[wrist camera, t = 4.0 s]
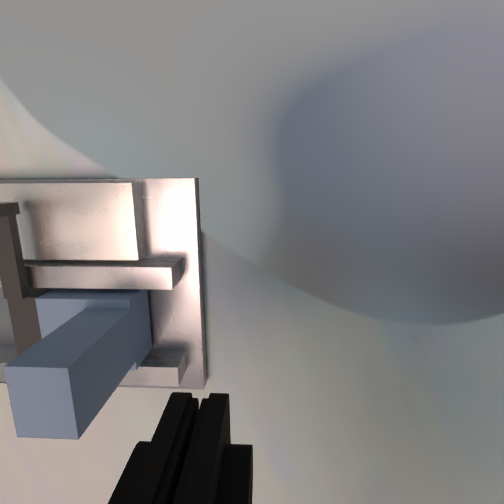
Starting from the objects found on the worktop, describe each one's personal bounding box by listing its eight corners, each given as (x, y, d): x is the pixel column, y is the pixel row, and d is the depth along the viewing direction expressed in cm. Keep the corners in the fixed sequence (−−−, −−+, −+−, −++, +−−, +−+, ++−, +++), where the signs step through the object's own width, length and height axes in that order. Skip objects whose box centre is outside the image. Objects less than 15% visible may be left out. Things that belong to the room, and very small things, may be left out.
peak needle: (46, 199, 18) (-29, 207, 14) (67, 343, 20) (8, 393, 16) (18, 199, 18) (-66, 207, 14) (42, 343, 20) (-24, 392, 16)
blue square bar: (146, 284, 19) (65, 355, 12) (152, 347, 20) (80, 450, 12) (63, 283, 19) (-68, 352, 12) (72, 345, 20) (-45, 445, 13)
